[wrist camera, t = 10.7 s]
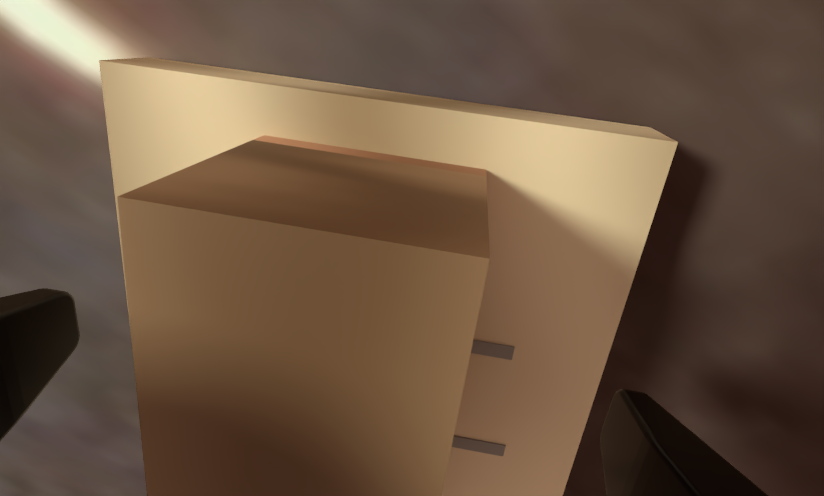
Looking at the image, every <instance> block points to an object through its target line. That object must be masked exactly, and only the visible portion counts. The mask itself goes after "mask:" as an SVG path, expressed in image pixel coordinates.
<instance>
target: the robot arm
mask: <svg viewBox="0 0 824 496" xmlns="http://www.w3.org/2000/svg"><path fill="white" fill-rule="evenodd" d="M79 336H80V334H79V327H78V321H77V314H76V308H75V302H74V299H73V297H72V296H71V294H69V293H67V292H64V291H58V290H53V289H47V288H46V289H37V290H33V291H28V292H24V293H19V294H15V295H10V296H5V297H1V298H0V441H1V439H2V438H3V437H4V436H5V435H6V434H7V433H8V432H9V431H10V430H11V429H12V427H13V426H14V425H15V424H16V423H17V422H18V420H19V419H20V418H21V417H22V416H23V414H24V413H25V412H26V411H27V409H28V408H29V407H30V406H31V404H32V403H33V402H34V401H35V399H36V398H37V397H38V396H39V394H40V393H41V392H42V390H43V389H44V388H45V387H46V385H47V384H48V383H49V382H50V380H51V379H52V378H53V376H54V375H55V374H56V373H57V371H58V370H59V369H60V368H61V366H62V365H63V364H64V363H65V361H66V360H67V359H68V357H69V356H70V355H71V354H72V352H73V351H74V350H75V348H76V346H77V344H78V341H79ZM600 444H601V453H602V462H603V470H604V479H605V487H606V496H768V495H767V494H766V493H764V492H763V491H762V490H761V489H760V488H758V487H757V486H756V485H755V484H754V483H752V482H751V481H750V480H749V479H748V478H746V477H745V476H744V475H743V474H742V473H740V472H739V471H738V470H737V469H736V468H734V467H733V466H732V465H731V464H730V463H728V462H727V461H726V460H725V459H724V458H722V457H721V456H720V455H719V454H718V453H716V452H715V451H714V450H713V449H712V448H710V447H709V446H708V445H707V444H706V443H704V442H703V441H702V440H701V439H700V438H698V437H697V436H696V435H695V434H694V433H693V432H691V431H690V430H689V429H688V428H687V427H685V426H684V425H683V424H682V423H681V422H679V421H678V420H677V419H676V418H675V417H673V416H672V415H671V414H670V413H669V412H667V411H666V410H665V409H664V408H663V407H661V406H660V405H659V404H658V403H657V402H655V401H654V400H653V399H652V398H651V397H649V396H648V395H647V394H645V393H642V392H637V391H631V390H625V389H620V390H618V391H616V393H615V394H614V396H613V398H612V401H611V404H610V407H609V410H608V413H607V416H606V418H605V421H604V424H603V427H602V431H601V438H600Z"/></svg>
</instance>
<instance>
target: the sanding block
mask: <svg viewBox="0 0 824 496" xmlns="http://www.w3.org/2000/svg"><path fill="white" fill-rule="evenodd" d="M117 199H118V209H119V219H120V229H121V239H122V249H123V259H124V269H125V279H126V289H127V299H128V309H129V319H130V330H131V340H132V350H133V360H134V370H135V380H136V390H137V400H138V410H139V420H140V430H141V440H142V450H143V460H144V470H145V480H146V490H147V496H442V491H443V486H444V481H445V476H446V471H447V466H448V461H449V456H450V452H451V447H452V442H453V437H454V432H455V427H456V422H457V417H458V412H459V408H460V403H461V398H462V393H463V388H464V383H465V378H466V373H467V368H468V364H469V359H470V354H471V349H472V344H473V339H474V334H475V329H476V324H477V320H478V315H479V310H480V305H481V300H482V295H483V290H484V285H485V280H486V276H487V271H488V266H489V261H490V249H489V226H488V202H487V179H486V169H480V168H473V167H467V166H460V165H454V164H447V163H441V162H434V161H428V160H422V159H415V158H409V157H402V156H396V155H389V154H383V153H376V152H370V151H364V150H357V149H351V148H344V147H338V146H331V145H325V144H318V143H312V142H306V141H299V140H293V139H286V138H280V137H273V136H267V135H263V136H261V137H258V138H256V139H254V140H251V141H249V142H246V143H244V144H242V145H239V146H237V147H235V148H232V149H230V150H227V151H225V152H223V153H220V154H218V155H215V156H213V157H211V158H208V159H206V160H204V161H201V162H199V163H196V164H194V165H192V166H189V167H187V168H184V169H182V170H180V171H177V172H175V173H172V174H170V175H168V176H165V177H163V178H161V179H158V180H156V181H153V182H151V183H149V184H146V185H144V186H141V187H139V188H137V189H134V190H132V191H130V192H127V193H125V194H122V195H120V196H118V197H117Z"/></svg>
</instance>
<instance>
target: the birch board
mask: <svg viewBox="0 0 824 496" xmlns="http://www.w3.org/2000/svg"><path fill="white" fill-rule="evenodd" d="M99 62H100V71H101V80H102V88H103V97H104V106H105V114H106V123H107V131H108V140H109V149H110V157H111V166H112V175H113V183H114V192H115V200H116V209H117V218H118V226H119V235H120V244H121V252H122V261H123V269H124V259H123V249H122V239H121V229H120V219H119V209H118V199H117V197H118V196H120V195H122V194H125V193H127V192H130V191H132V190H134V189H137V188H139V187H141V186H144V185H146V184H149V183H151V182H153V181H156V180H158V179H161V178H163V177H165V176H168V175H170V174H172V173H175V172H177V171H180V170H182V169H184V168H187V167H189V166H192V165H194V164H196V163H199V162H201V161H204V160H206V159H208V158H211V157H213V156H215V155H218V154H220V153H223V152H225V151H227V150H230V149H232V148H235V147H237V146H239V145H242V144H244V143H246V142H249V141H251V140H254V139H256V138H258V137H261V136H263V135H267V136H273V137H280V138H286V139H293V140H299V141H306V142H312V143H318V144H325V145H331V146H338V147H344V148H351V149H357V150H364V151H370V152H376V153H383V154H389V155H396V156H402V157H409V158H415V159H422V160H428V161H434V162H441V163H447V164H454V165H460V166H467V167H473V168H480V169H486V179H487V202H488V226H489V249H490V261H489V266H488V271H487V276H486V280H485V285H484V290H483V295H482V300H481V305H480V310H479V315H478V320H477V324H476V329H475V334H474V339H473V344H472V349H471V354H470V359H469V364H468V368H467V373H466V378H465V383H464V388H463V393H462V398H461V403H460V408H459V412H458V417H457V422H456V427H455V432H454V437H453V442H452V447H451V452H450V456H449V461H448V466H447V471H446V476H445V481H444V486H443V491H442V496H563V493H564V490H565V487H566V484H567V481H568V478H569V474H570V471H571V468H572V465H573V462H574V459H575V456H576V453H577V450H578V447H579V444H580V441H581V438H582V435H583V432H584V429H585V426H586V422H587V419H588V416H589V413H590V410H591V407H592V404H593V401H594V398H595V395H596V392H597V389H598V386H599V383H600V380H601V377H602V374H603V371H604V367H605V364H606V361H607V358H608V355H609V352H610V349H611V346H612V343H613V340H614V337H615V334H616V331H617V328H618V325H619V322H620V319H621V315H622V312H623V309H624V306H625V303H626V300H627V297H628V294H629V291H630V288H631V285H632V282H633V279H634V276H635V273H636V270H637V267H638V264H639V260H640V257H641V254H642V251H643V248H644V245H645V242H646V239H647V236H648V233H649V230H650V227H651V224H652V221H653V218H654V215H655V212H656V208H657V205H658V202H659V199H660V196H661V193H662V190H663V187H664V184H665V181H666V178H667V175H668V172H669V169H670V166H671V163H672V160H673V157H674V153H675V150H676V147H677V144H678V142H677V141H675V140H673V139H671V138H669V137H667V136H665V135H663V134H662V133H660V132H658V131H656V130H654V129H652V128H650V127H644V126H637V125H629V124H622V123H615V122H608V121H601V120H594V119H587V118H579V117H572V116H565V115H558V114H551V113H544V112H537V111H529V110H522V109H515V108H508V107H501V106H494V105H486V104H479V103H472V102H465V101H458V100H451V99H444V98H436V97H429V96H422V95H415V94H408V93H401V92H394V91H386V90H379V89H372V88H365V87H358V86H351V85H344V84H336V83H329V82H322V81H315V80H308V79H301V78H293V77H286V76H279V75H272V74H265V73H258V72H251V71H243V70H236V69H229V68H222V67H215V66H208V65H201V64H193V63H186V62H179V61H172V60H165V59H158V58H150V57H149V58H132V59H116V60H99ZM124 278H125V269H124ZM125 287H126V279H125ZM126 295H127V289H126ZM127 304H128V299H127ZM128 313H129V309H128ZM129 321H130V319H129Z"/></svg>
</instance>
